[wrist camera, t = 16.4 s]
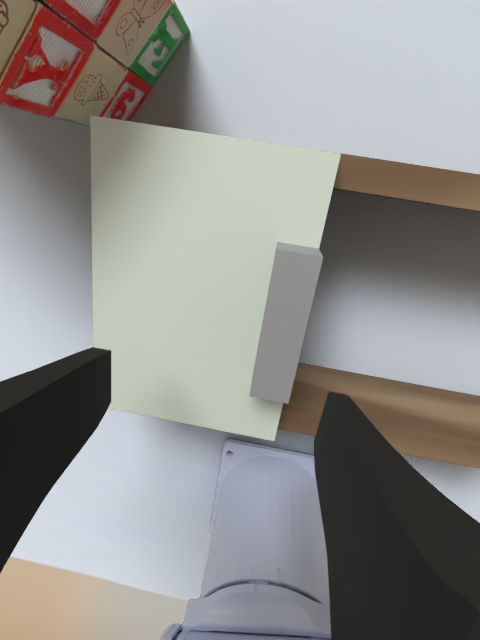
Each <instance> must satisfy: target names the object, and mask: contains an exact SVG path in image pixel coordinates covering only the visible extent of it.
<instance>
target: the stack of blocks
mask: <svg viewBox="0 0 480 640" xmlns="http://www.w3.org/2000/svg"><path fill="white" fill-rule="evenodd" d="M189 33H190V30H189V28H188V26H187V24H186V22H185V20H184V18H183V16H182V14H181V13H180V11H179V9H178V7H177V5H176V3H175V1H174V0H0V104H3V105H6V106H10V107H13V108H16V109H20V110H24V111H27V112H31V113H35V114H38V115H43V116H46V117H55V118H59V119H63V120H67V121H71V122H75V123H78V124H81V125H85V126H88V127H90V115H92V116H98V117H105V118H111V119H118V120H125V121H129V120H130V119H131V118H132V116H133V115H134V113H135V112H136V110H137V109H138V108H139V106H140V105H141V103H142V102H143V100H144V99H145V97H146V96H147V94H148V93H149V92H150V90H151V88H152V85H153V84H154V83H155V81H156V80H157V78H158V77H159V75H160V74H161V73H162V71H163V70H164V68H165V67H166V65H167V64H168V63H169V61H170V60H171V58H172V57H173V56H174V54H175V53H176V51H177V50H178V48H179V47H180V46H181V44H182V43H183V41H184V40H185V39H186V37H187V36H188V34H189Z"/></svg>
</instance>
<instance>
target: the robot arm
mask: <svg viewBox="0 0 480 640" xmlns="http://www.w3.org/2000/svg"><path fill="white" fill-rule="evenodd" d="M110 403H111V350H105V349H100V348H95V347H93V348H90V349H86V350H84V351H81V352H78V353H75V354H73V355H70V356H68V357H65V358H63V359H60V360H58V361H55V362H53V363H50V364H47V365H45V366H42V367H40V368H37V369H35V370H32V371H29V372H26V373H23V374H21V375H18V376H15V377H12V378H9V379H7V380H4V381H1V382H0V573H1V571H2V569H3V567H4V565H5V564H6V562H7V560H8V558H9V557H10V555H11V553H12V552H13V550H14V548H15V546H16V545H17V543H18V541H19V540H20V538H21V536H22V534H23V533H24V531H25V529H26V528H27V526H28V524H29V523H30V521H31V519H32V518H33V516H34V515H35V513H36V511H37V510H38V508H39V506H40V505H41V503H42V502H43V500H44V498H45V497H46V495H47V494H48V493H49V491H50V490H51V488H52V487H53V485H54V484H55V483H56V481H57V480H58V479H59V477H60V476H61V475H62V473H63V472H64V471H65V469H66V468H67V467H68V466H69V464H70V463H71V462H72V460H73V459H74V458H75V456H76V455H77V454H78V452H79V451H80V450H81V448H82V447H83V446H84V444H85V443H86V442H87V440H88V439H89V438H90V436H91V435H92V434H93V432H94V431H95V429H96V428H97V427H98V425H99V423H100V421H101V420H102V418H103V416H104V414H105V413H106V411H107V409H108V407H109V405H110ZM227 451H231V452H232V453H229V452H227ZM210 532H211V534H212V539H211V544H210V549H209V554H208V559H207V564H206V569H205V574H204V579H203V584H202V589H201V593H200V598H199V599H190V600H188V604H187V609H186V613H185V617H184V622H183V624H172V625H171V626H169V627H168V628H167V629H166V630H165V631H164V633H163V635H162V636H161V638H160V639H159V640H480V523H479V522H477V521H476V520H475V519H473V518H472V517H471V516H470V515H468V514H467V513H466V512H464V511H463V510H462V509H461V508H459V507H458V506H457V505H455V504H454V503H453V502H452V501H450V500H449V499H448V498H447V497H446V496H444V495H443V494H442V493H441V492H440V491H438V490H437V489H436V488H435V487H434V486H433V485H432V484H431V483H429V482H428V481H427V480H426V479H425V478H424V477H423V476H422V475H420V474H419V473H418V472H417V471H416V470H415V469H414V468H413V467H412V466H411V465H410V464H409V463H408V462H407V461H406V460H405V459H404V458H403V457H402V456H401V455H400V454H399V453H398V452H397V451H396V450H395V449H394V448H393V447H392V445H391V444H390V443H389V442H388V441H387V440H386V439H385V438H384V437H383V436H382V434H381V433H380V432H379V431H378V430H377V429H376V428H375V426H374V425H373V424H372V423H371V422H370V420H369V419H368V418H367V417H366V416H365V415H364V413H363V412H362V411H361V410H360V408H359V407H358V406H357V405H356V404H355V403H354V401H353V400H352V399H351V398H350V397H349V396H348V395H346V394H341V393H335V392H330V391H328V395H327V398H326V402H325V405H324V409H323V412H322V416H321V419H320V422H319V426H318V429H317V433H316V436H315V440H314V456H312V455H307V454H302V453H297V452H292V451H287V450H282V449H277V448H272V447H267V446H262V445H257V444H252V443H247V442H242V441H237V440H232V439H229V440H226V441H225V443H224V446H223V452H222V458H221V464H220V470H219V477H218V483H217V489H216V495H215V501H214V507H213V513H212V519H211V525H210Z"/></svg>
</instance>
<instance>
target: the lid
mask: <svg viewBox="0 0 480 640" xmlns="http://www.w3.org/2000/svg"><path fill="white" fill-rule="evenodd" d="M90 147H91V221H92V295H93V347H95V348H100V349H105V350H111V403H110V405H109V407H108V408H109V409H115V410H120V411H125V412H130V413H135V414H140V415H145V416H150V417H155V418H160V419H165V420H170V421H175V422H180V423H185V424H190V425H195V426H200V427H205V428H210V429H215V430H220V431H225V432H230V433H235V434H240V435H245V436H250V437H255V438H260V439H265V440H270V441H275V437H276V432H277V428H278V424H279V419H280V415H281V411H282V406H283V403H286V404H288V403H289V399H290V395H291V391H292V387H293V383H294V378H295V374H296V370H297V366H298V362H299V357H300V353H301V349H302V345H303V341H304V336H305V332H306V328H307V324H308V320H309V315H310V311H311V307H312V303H313V299H314V295H315V290H316V286H317V282H318V278H319V274H320V269H321V265H322V261H323V255H322V253H321V251H320V250H319V247H320V243H321V238H322V234H323V230H324V225H325V221H326V217H327V212H328V208H329V204H330V199H331V195H332V191H333V186H334V182H335V178H336V174H337V169H338V165H339V161H340V156H341V154H340V153H334V152H327V151H321V150H314V149H308V148H301V147H295V146H288V145H282V144H275V143H268V142H262V141H255V140H249V139H242V138H236V137H229V136H223V135H216V134H210V133H203V132H196V131H190V130H183V129H177V128H170V127H164V126H157V125H151V124H144V123H138V122H131V121H124V120H118V119H111V118H105V117H98V116H92V115H90Z"/></svg>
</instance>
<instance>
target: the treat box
mask: <svg viewBox="0 0 480 640" xmlns="http://www.w3.org/2000/svg"><path fill="white" fill-rule="evenodd" d="M124 121H125V120H124ZM170 128H171V127H170ZM183 130H184V129H183ZM196 132H197V131H196ZM242 139H243V138H242ZM255 141H256V140H255ZM268 143H269V142H268ZM314 150H315V149H314ZM327 152H328V151H327ZM340 154H341V153H340ZM333 189H339V190H345V191H352V192H358V193H364V194H371V195H377V196H383V197H390V198H396V199H402V200H408V201H415V202H421V203H427V204H434V205H440V206H446V207H453V208H459V209H465V210H472V211H478V212H480V175H478V174H472V173H465V172H459V171H452V170H446V169H439V168H432V167H426V166H419V165H413V164H406V163H400V162H393V161H387V160H380V159H374V158H367V157H360V156H354V155H347V154H341V156H340V161H339V165H338V169H337V174H336V178H335V182H334V186H333ZM328 391H330V392H335V393H341V394H346V395H348V396H349V397H350V398H351V399H352V400H353V401H354V403H355V404H356V405H357V406H358V407H359V408H360V410H361V411H362V412H363V413H364V415H365V416H366V417H367V418H368V419H369V420H370V422H371V423H372V424H373V425H374V426H375V428H376V429H377V430H378V431H379V432H380V433H381V434H382V436H383V437H384V438H385V439H386V440H387V441H388V442H389V443H390V444H391V445H392V447H393V448H394V449H395V450H396V451H397V452H399V453H404V454H409V455H414V456H419V457H424V458H429V459H434V460H439V461H444V462H449V463H454V464H459V465H465V466H470V467H475V468H480V396H475V395H470V394H465V393H459V392H454V391H449V390H443V389H438V388H432V387H427V386H422V385H416V384H411V383H406V382H400V381H395V380H389V379H384V378H379V377H373V376H368V375H362V374H357V373H352V372H346V371H341V370H336V369H330V368H325V367H319V366H314V365H309V364H303V363H298V366H297V370H296V374H295V378H294V383H293V387H292V391H291V395H290V399H289V403H288V404H286V403H283V406H282V411H281V415H280V419H279V424H278V428H277V429H282V430H287V431H292V432H297V433H302V434H307V435H312V436H316V433H317V429H318V426H319V422H320V419H321V416H322V412H323V409H324V405H325V402H326V398H327V395H328Z"/></svg>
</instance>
